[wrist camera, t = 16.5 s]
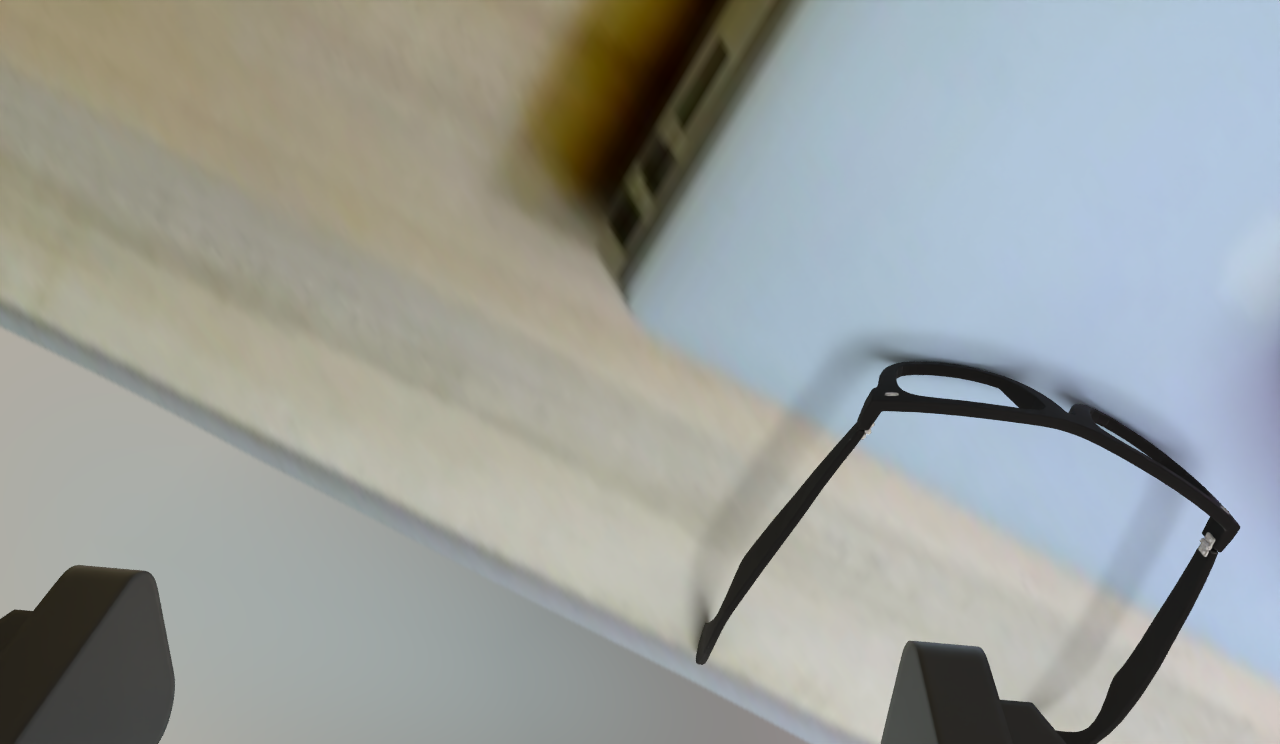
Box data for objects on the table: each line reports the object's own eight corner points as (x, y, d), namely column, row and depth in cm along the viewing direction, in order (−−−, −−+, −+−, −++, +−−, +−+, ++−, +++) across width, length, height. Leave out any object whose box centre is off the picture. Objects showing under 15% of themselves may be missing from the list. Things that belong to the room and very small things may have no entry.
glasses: (1233, 435, 43) (1296, 506, 39) (1013, 749, 51) (1044, 839, 46) (841, 296, 41) (859, 354, 37) (674, 644, 49) (672, 727, 44)
